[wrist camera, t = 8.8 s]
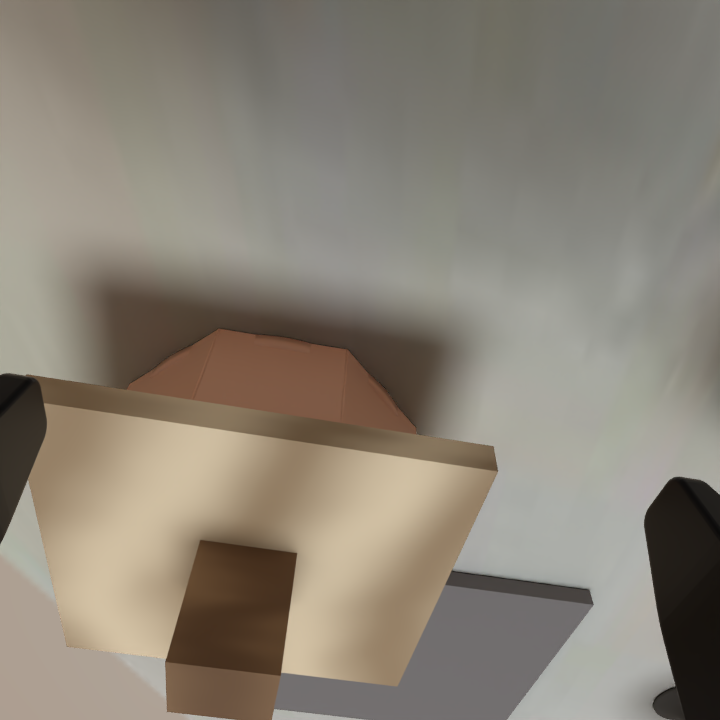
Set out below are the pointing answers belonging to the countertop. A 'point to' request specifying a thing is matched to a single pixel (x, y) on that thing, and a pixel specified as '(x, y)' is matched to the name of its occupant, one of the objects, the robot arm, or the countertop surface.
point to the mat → (459, 656)
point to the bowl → (276, 380)
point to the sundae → (669, 705)
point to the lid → (246, 539)
